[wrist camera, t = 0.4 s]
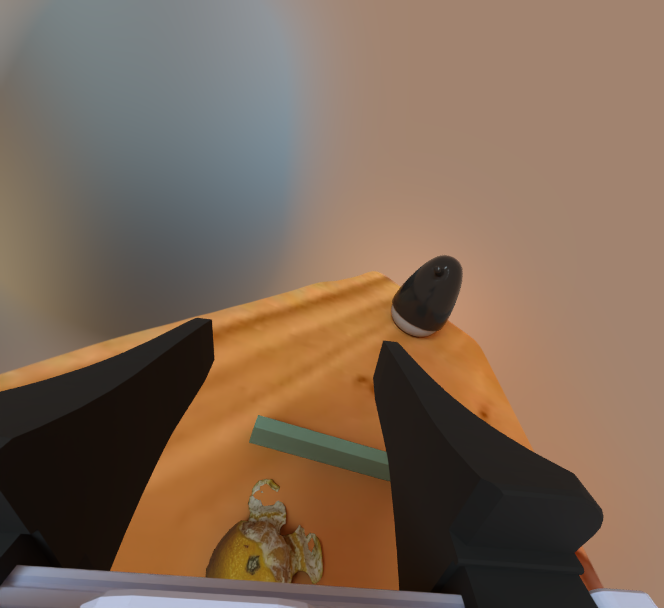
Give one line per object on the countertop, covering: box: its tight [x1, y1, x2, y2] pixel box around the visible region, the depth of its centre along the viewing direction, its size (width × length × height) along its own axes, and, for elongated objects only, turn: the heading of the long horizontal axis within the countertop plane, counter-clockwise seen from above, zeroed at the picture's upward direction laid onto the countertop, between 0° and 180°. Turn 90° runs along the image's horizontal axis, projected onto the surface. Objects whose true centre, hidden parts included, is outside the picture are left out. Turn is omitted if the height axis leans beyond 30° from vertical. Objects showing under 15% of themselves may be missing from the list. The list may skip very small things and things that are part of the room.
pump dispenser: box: [391, 255, 463, 337], centre depth 48 cm, size 10×10×15 cm
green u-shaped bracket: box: [249, 415, 390, 481], centre depth 20 cm, size 19×22×3 cm
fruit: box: [206, 479, 323, 584], centre depth 20 cm, size 8×8×4 cm
